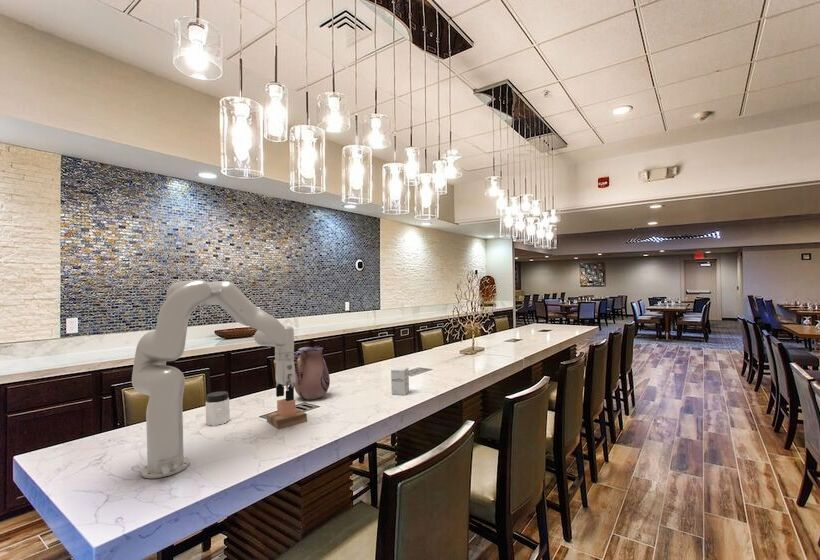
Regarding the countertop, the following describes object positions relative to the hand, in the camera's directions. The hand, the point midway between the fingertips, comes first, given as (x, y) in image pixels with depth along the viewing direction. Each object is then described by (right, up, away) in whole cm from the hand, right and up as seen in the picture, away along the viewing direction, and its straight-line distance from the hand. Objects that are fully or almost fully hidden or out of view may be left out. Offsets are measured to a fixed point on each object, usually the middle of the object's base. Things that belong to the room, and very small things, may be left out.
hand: (284, 398), depth 160 cm
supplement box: (+47, -9, +37) cm, 60 cm away
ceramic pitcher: (+2, -11, +34) cm, 36 cm away
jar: (-29, -11, +3) cm, 31 cm away
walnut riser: (+1, -10, 0) cm, 10 cm away
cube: (+1, -7, 0) cm, 7 cm away
